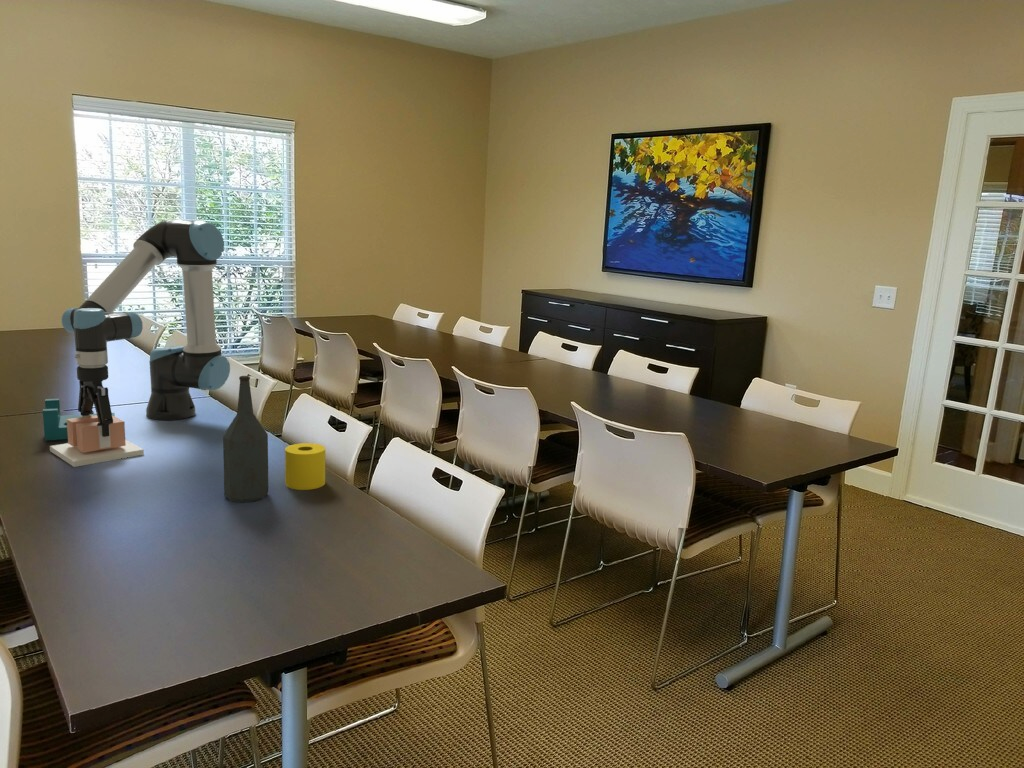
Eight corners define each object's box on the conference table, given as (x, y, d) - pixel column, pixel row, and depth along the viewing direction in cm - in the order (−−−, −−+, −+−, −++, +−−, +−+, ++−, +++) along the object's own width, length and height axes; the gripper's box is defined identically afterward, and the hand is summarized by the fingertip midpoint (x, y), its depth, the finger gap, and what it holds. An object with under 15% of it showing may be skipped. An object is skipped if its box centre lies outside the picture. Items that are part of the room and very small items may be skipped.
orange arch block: (109, 437, 221) (108, 413, 220) (125, 445, 214) (124, 421, 213) (68, 443, 213) (66, 419, 212) (83, 452, 206) (81, 427, 205)
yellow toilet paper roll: (332, 480, 202) (332, 446, 201) (310, 492, 193) (311, 456, 191) (300, 475, 206) (300, 441, 204) (277, 486, 196) (277, 450, 194)
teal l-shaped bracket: (45, 445, 221) (42, 410, 218) (47, 432, 230) (45, 399, 227) (115, 440, 229) (113, 407, 226) (115, 428, 238) (113, 396, 235)
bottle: (227, 504, 182) (224, 381, 176) (221, 491, 190) (218, 373, 184) (272, 499, 186) (270, 379, 180) (264, 487, 195) (263, 371, 189)
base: (117, 440, 227) (116, 412, 225) (143, 454, 215) (142, 425, 213) (50, 451, 213) (48, 421, 212) (74, 466, 202) (72, 435, 200)
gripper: (61, 360, 214) (66, 435, 219) (94, 373, 199) (98, 454, 203) (90, 357, 220) (94, 431, 224) (124, 371, 204) (128, 449, 209)
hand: (96, 442), depth 214 cm, fingers closed on orange arch block, 11 cm apart
